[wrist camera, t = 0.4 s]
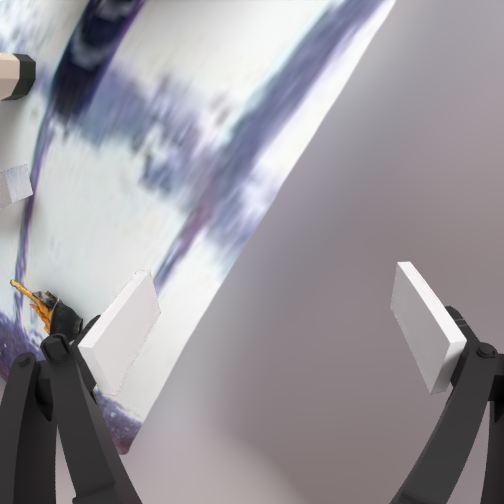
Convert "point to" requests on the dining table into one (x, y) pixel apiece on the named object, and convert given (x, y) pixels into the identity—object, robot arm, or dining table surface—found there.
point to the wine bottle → (15, 75)
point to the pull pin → (14, 185)
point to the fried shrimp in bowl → (53, 313)
